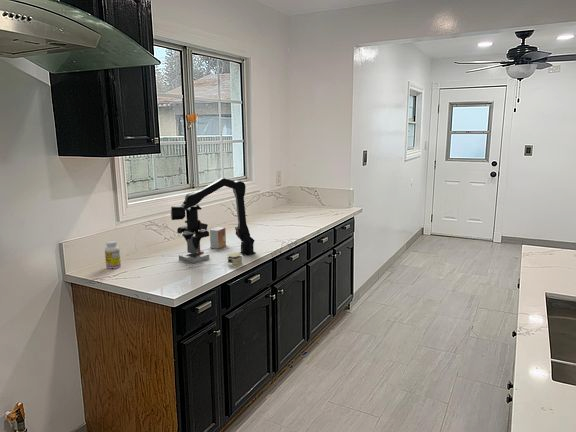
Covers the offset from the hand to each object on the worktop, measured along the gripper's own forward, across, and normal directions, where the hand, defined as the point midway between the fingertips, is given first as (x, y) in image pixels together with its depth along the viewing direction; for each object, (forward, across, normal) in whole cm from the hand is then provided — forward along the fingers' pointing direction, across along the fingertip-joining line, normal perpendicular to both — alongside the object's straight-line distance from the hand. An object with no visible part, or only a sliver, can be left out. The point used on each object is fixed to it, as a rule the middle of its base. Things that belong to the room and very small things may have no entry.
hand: (193, 248), depth 225 cm
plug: (+2, 0, 0) cm, 2 cm away
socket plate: (+6, 0, 0) cm, 6 cm away
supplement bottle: (+6, +22, +33) cm, 40 cm away
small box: (+6, +8, -24) cm, 27 cm away
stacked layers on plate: (+7, -23, -7) cm, 25 cm away
